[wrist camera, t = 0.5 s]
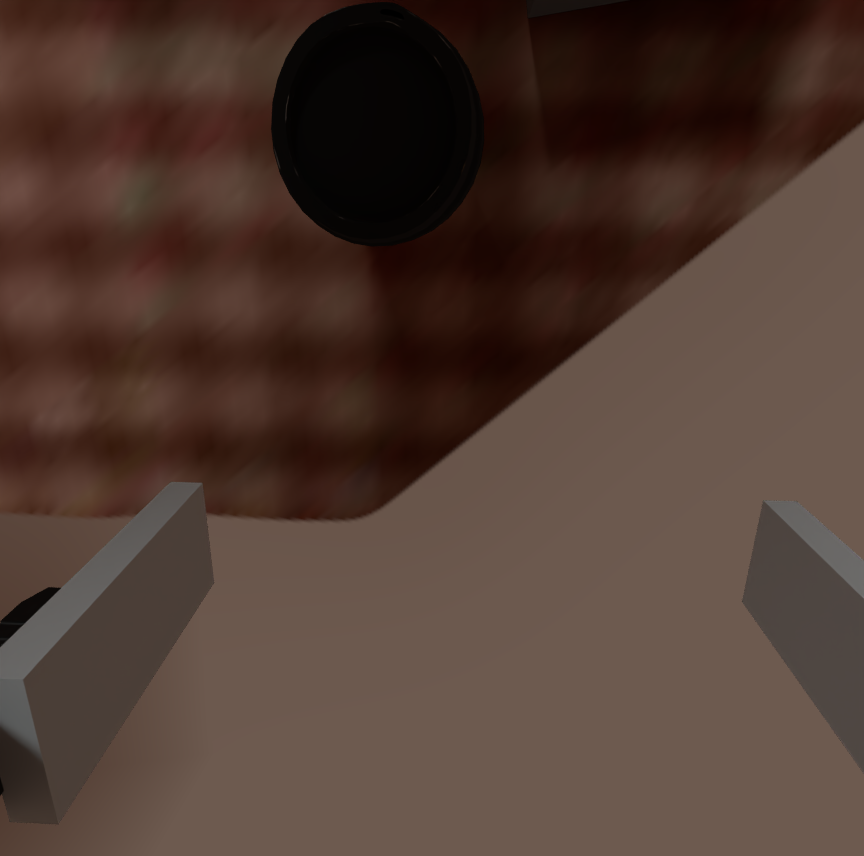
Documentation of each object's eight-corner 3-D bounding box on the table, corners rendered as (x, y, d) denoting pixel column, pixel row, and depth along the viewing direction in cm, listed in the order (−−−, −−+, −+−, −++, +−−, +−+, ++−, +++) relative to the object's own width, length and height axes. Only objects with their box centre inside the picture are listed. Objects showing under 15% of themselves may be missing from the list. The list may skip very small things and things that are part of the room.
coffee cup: (494, 98, 36) (516, 27, 22) (455, 249, 39) (452, 274, 24) (348, 58, 35) (274, -41, 21) (319, 213, 38) (236, 217, 24)
